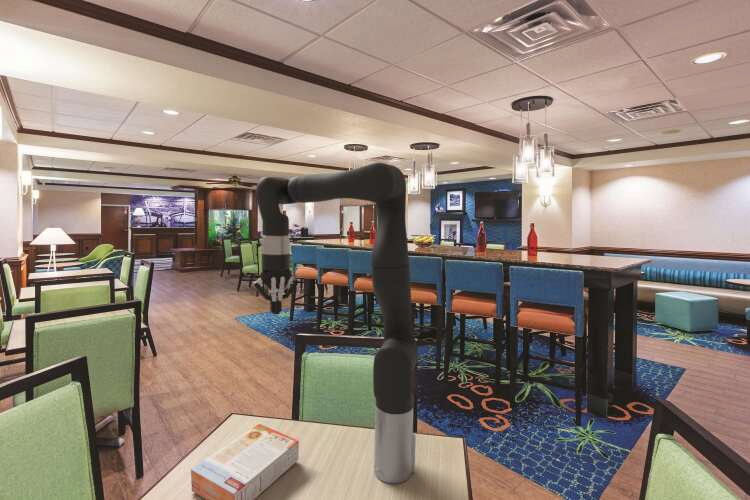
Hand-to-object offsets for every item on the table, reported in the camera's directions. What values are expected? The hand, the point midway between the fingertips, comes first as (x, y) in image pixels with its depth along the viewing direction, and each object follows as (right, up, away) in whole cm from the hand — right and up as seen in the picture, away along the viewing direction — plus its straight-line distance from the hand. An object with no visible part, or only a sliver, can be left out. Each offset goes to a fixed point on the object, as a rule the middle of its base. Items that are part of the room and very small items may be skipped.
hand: (275, 313), depth 108 cm
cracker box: (+2, -32, -6) cm, 33 cm away
